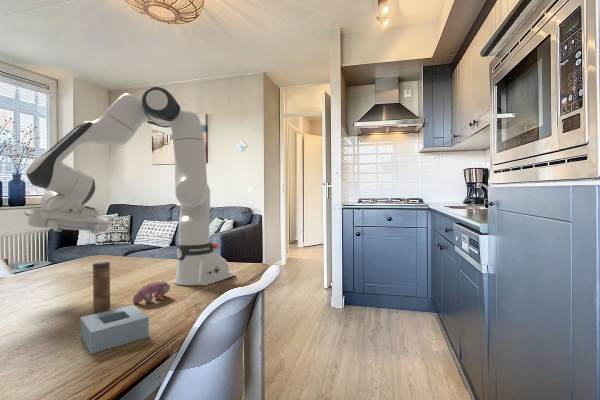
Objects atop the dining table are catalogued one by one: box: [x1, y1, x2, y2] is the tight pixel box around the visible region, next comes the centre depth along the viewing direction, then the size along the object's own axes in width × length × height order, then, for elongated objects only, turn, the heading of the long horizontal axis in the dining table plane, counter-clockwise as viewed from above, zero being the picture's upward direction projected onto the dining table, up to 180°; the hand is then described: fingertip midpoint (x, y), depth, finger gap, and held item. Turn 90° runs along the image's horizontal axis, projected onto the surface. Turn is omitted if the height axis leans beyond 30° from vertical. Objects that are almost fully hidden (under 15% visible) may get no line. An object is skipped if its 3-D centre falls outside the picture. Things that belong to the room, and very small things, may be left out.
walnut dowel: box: [92, 261, 111, 314], centre depth 77 cm, size 4×4×15 cm
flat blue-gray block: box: [80, 304, 150, 355], centre depth 69 cm, size 11×11×4 cm
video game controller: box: [132, 280, 171, 304], centre depth 93 cm, size 10×5×7 cm, turn 148°
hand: (78, 230), depth 89 cm, fingers open, 8 cm apart
